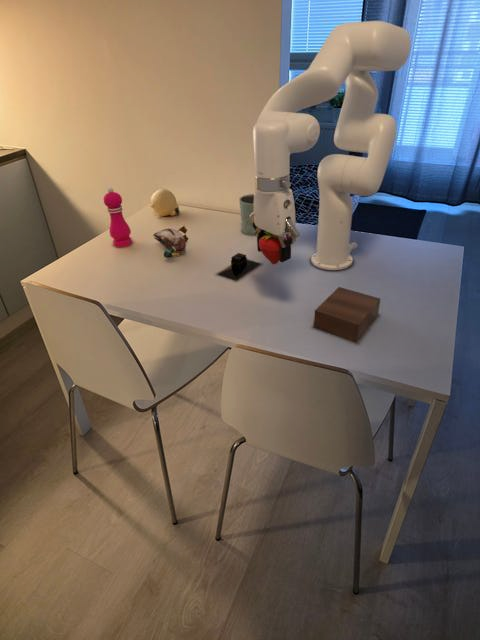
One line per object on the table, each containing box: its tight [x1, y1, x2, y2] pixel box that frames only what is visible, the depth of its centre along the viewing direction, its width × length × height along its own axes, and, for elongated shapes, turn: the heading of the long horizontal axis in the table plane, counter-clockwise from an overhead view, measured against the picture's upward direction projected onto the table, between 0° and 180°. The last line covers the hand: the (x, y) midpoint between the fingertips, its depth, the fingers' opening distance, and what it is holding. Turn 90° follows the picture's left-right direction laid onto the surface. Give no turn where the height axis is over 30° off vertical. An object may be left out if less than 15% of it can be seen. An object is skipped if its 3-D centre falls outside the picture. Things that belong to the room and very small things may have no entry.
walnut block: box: [313, 286, 382, 343], centre depth 100 cm, size 13×11×5 cm
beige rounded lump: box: [149, 188, 180, 218], centre depth 167 cm, size 10×12×11 cm
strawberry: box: [259, 232, 287, 265], centre depth 99 cm, size 6×8×10 cm
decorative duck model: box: [152, 225, 190, 259], centre depth 137 cm, size 15×8×15 cm
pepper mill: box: [103, 187, 132, 248], centre depth 142 cm, size 7×7×20 cm
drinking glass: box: [238, 193, 256, 236], centre depth 148 cm, size 10×10×12 cm
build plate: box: [217, 252, 261, 281], centre depth 126 cm, size 12×7×5 cm, turn 143°
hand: (273, 254), depth 100 cm, fingers closed on strawberry, 7 cm apart
